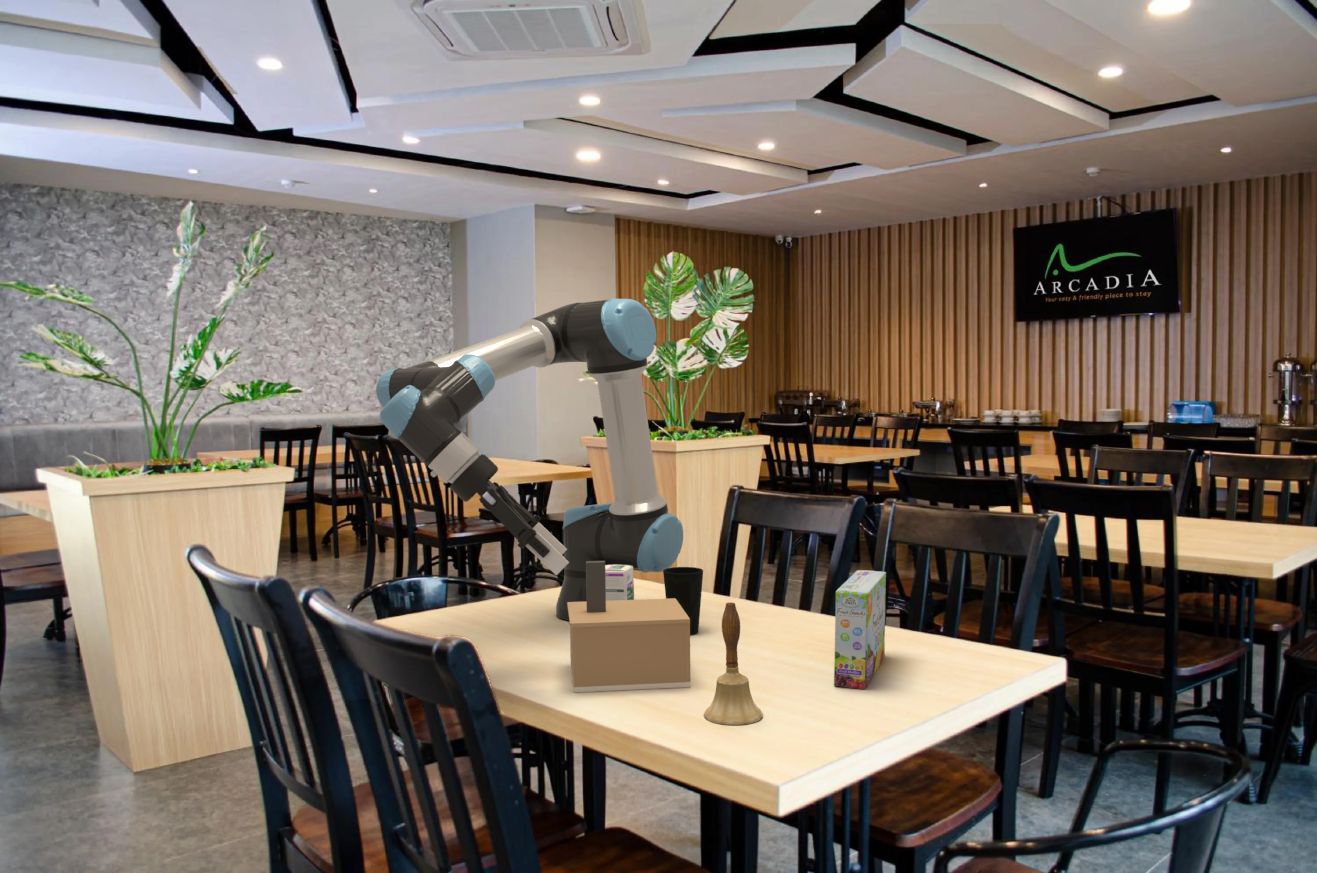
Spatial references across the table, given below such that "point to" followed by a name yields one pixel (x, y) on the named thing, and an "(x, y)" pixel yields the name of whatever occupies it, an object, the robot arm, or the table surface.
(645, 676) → the carton
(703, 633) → the table surface
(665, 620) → the carton flap
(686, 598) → the cup
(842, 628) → the snack box
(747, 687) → the hand bell
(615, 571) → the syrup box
